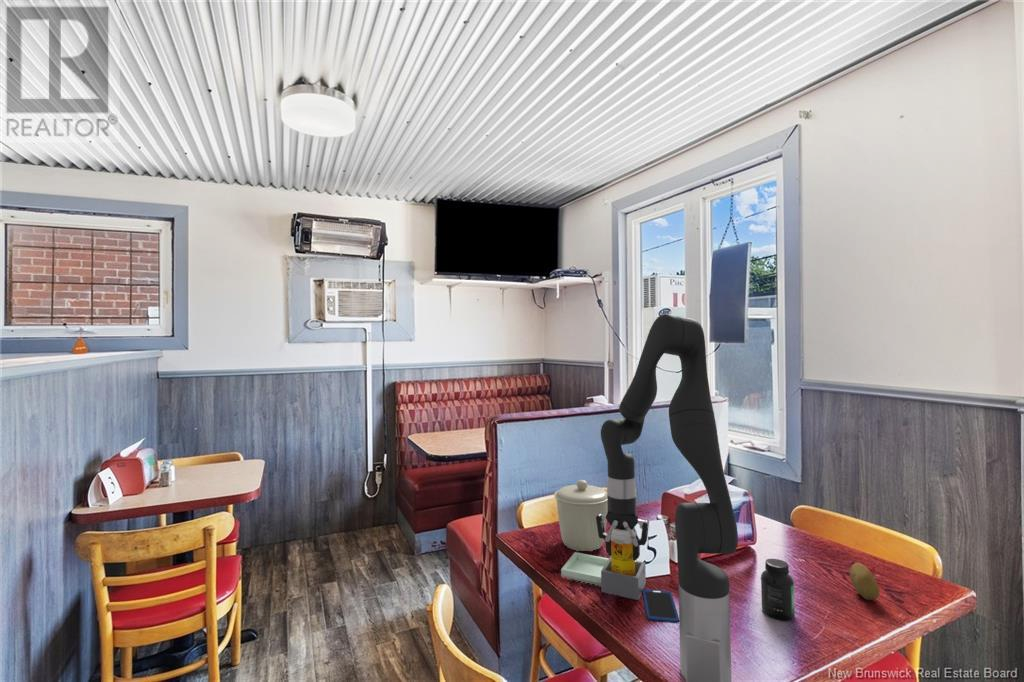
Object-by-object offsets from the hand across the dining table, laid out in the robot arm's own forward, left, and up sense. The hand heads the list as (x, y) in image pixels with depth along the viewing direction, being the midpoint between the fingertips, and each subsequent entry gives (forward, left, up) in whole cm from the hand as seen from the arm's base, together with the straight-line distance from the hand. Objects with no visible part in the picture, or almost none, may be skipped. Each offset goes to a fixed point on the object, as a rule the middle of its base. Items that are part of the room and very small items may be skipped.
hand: (622, 556), depth 125 cm
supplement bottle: (+3, -36, -8) cm, 37 cm away
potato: (+20, -56, -8) cm, 60 cm away
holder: (0, 0, -8) cm, 8 cm away
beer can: (0, 0, -7) cm, 7 cm away
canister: (+21, +18, -8) cm, 29 cm away
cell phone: (-5, -10, -9) cm, 14 cm away
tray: (+4, +11, -8) cm, 14 cm away
